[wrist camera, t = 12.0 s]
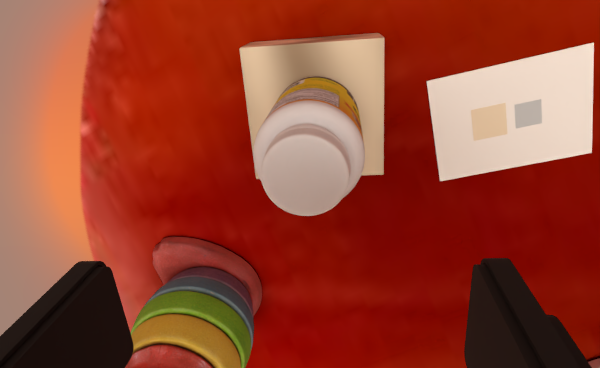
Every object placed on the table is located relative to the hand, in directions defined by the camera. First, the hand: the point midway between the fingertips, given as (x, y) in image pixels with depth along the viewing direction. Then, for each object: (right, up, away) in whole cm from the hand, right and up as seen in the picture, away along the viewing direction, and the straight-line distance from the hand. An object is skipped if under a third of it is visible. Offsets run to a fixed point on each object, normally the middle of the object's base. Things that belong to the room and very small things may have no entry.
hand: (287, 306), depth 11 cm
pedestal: (+2, +9, +20) cm, 23 cm away
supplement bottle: (+2, +8, +17) cm, 19 cm away
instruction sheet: (+16, +8, +20) cm, 26 cm away
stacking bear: (-8, -6, +29) cm, 30 cm away
